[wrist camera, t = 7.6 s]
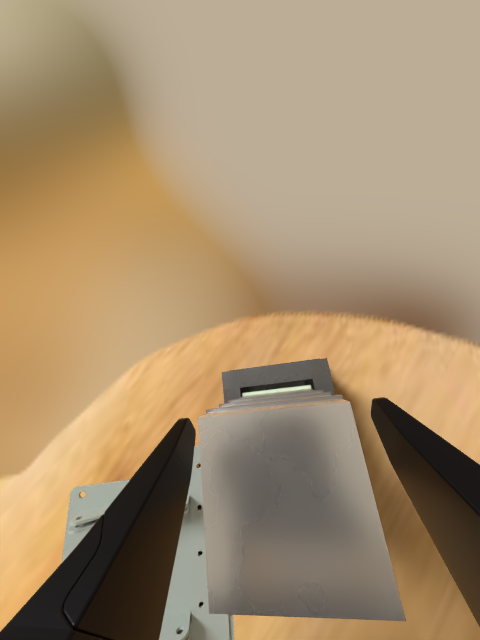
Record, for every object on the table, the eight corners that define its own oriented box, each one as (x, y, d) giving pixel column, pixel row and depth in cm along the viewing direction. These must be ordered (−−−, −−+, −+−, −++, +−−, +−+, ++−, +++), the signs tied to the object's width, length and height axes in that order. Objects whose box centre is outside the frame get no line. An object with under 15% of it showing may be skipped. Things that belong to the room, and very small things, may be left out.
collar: (341, 458, 17) (368, 493, 12) (243, 464, 18) (228, 499, 13) (319, 359, 19) (333, 352, 14) (233, 371, 21) (217, 368, 15)
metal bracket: (-3, 786, 11) (47, 469, 16) (69, 654, 17) (91, 447, 21) (253, 715, 13) (236, 447, 17) (243, 617, 19) (232, 431, 23)
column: (324, 459, 12) (417, 631, 4) (253, 464, 13) (203, 622, 5) (308, 384, 14) (354, 394, 5) (244, 392, 14) (192, 412, 6)
